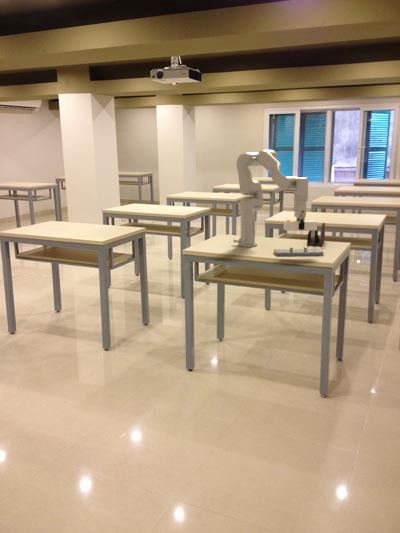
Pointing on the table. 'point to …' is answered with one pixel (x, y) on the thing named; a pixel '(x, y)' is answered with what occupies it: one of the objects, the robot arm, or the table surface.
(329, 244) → the table surface
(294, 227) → the power strip
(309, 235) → the letter holder
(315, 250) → the mounting plate
